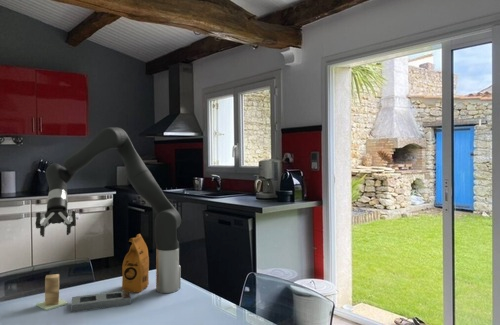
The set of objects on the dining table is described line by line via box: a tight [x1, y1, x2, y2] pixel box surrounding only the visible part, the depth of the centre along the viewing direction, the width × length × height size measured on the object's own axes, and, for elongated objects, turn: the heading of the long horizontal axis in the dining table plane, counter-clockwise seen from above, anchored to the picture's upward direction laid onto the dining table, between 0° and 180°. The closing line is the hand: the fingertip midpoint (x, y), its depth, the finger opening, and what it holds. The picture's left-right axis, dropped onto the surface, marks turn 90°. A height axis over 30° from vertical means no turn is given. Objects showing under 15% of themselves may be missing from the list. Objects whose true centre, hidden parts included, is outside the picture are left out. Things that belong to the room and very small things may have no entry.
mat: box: [35, 298, 69, 311], centre depth 142 cm, size 8×8×1 cm
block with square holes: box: [70, 290, 131, 313], centre depth 143 cm, size 20×9×2 cm, turn 113°
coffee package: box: [121, 233, 150, 294], centre depth 162 cm, size 10×12×22 cm
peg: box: [44, 273, 60, 306], centre depth 142 cm, size 4×4×10 cm
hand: (55, 234), depth 149 cm, fingers open, 8 cm apart
